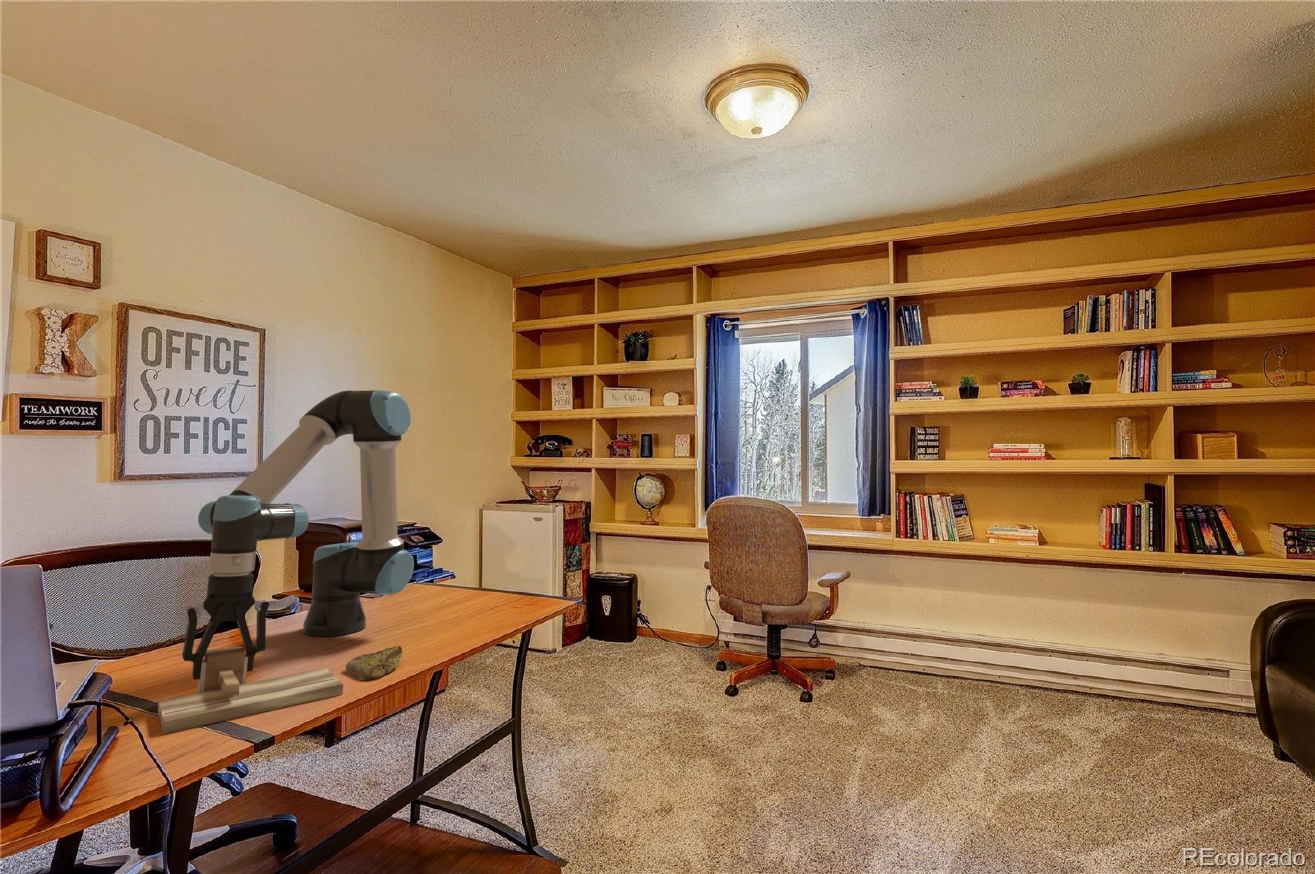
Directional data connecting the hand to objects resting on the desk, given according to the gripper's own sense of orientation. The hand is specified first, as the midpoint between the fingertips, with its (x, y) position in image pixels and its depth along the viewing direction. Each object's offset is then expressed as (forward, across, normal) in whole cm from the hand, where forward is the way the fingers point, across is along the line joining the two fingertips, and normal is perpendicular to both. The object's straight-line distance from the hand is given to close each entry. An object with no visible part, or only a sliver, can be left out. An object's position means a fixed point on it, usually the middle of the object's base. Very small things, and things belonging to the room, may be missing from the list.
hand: (221, 691), depth 122 cm
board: (0, +4, -9) cm, 10 cm away
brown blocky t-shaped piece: (0, 0, -5) cm, 5 cm away
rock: (0, +27, -4) cm, 27 cm away
